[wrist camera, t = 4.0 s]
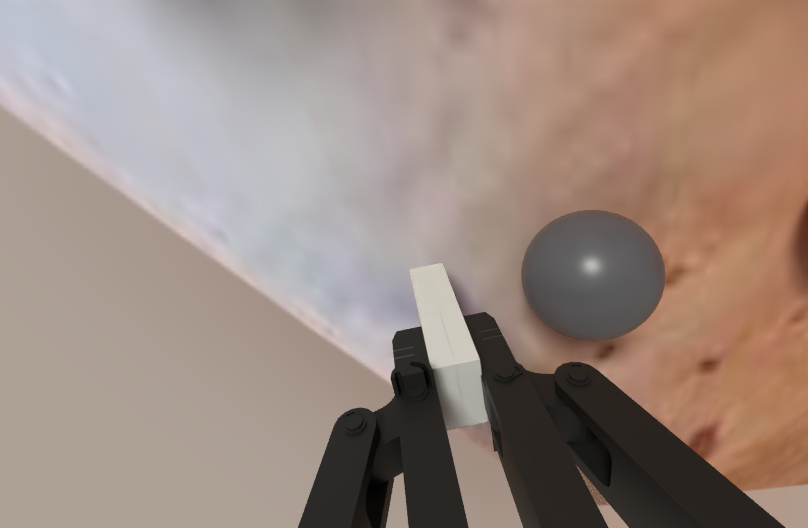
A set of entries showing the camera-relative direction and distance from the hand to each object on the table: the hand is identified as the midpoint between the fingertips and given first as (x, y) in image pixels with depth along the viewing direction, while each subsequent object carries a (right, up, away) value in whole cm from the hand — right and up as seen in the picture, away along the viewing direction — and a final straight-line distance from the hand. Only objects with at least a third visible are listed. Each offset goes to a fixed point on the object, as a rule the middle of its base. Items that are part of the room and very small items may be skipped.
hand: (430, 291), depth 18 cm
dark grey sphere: (+7, +1, -1) cm, 7 cm away
